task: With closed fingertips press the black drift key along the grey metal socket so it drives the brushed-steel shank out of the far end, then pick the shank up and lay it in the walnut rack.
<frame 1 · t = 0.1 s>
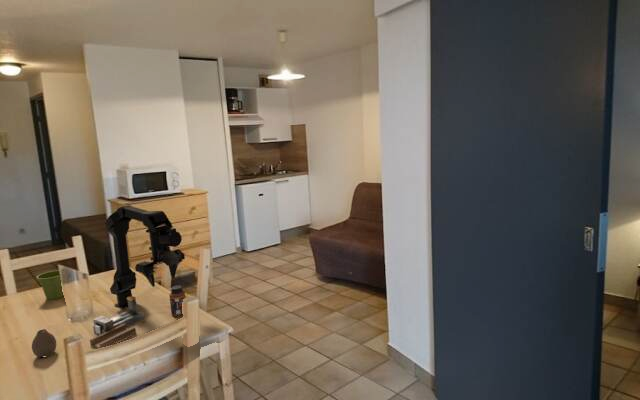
hand: (163, 282, 160), 14 cm above the table, tool pointing down, fingers open, 9 cm apart
shank: (110, 329, 155), on the table
socket: (119, 324, 158), on the table
rack: (113, 339, 147), on the table
vase: (46, 355, 139), on the table
supplement bottle: (179, 314, 165), on the table
plant pot: (56, 297, 191), on the table
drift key: (127, 309, 161), point 4 cm above the table, slide at 0.0 cm
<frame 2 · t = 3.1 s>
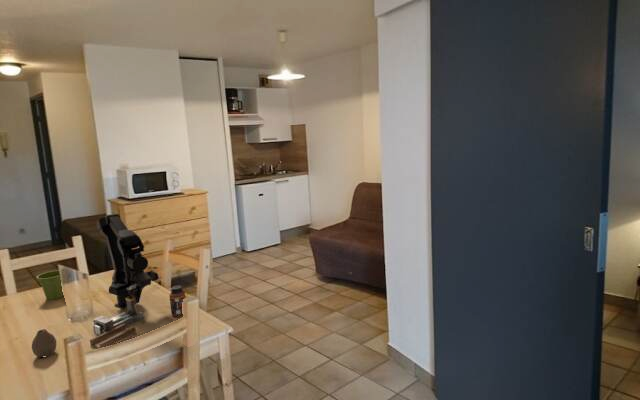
hand: (137, 302, 164), 6 cm above the table, tool pointing down, fingers closed
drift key: (126, 310, 160), point 4 cm above the table, slide at 0.6 cm, touching gripper
everything else where it was.
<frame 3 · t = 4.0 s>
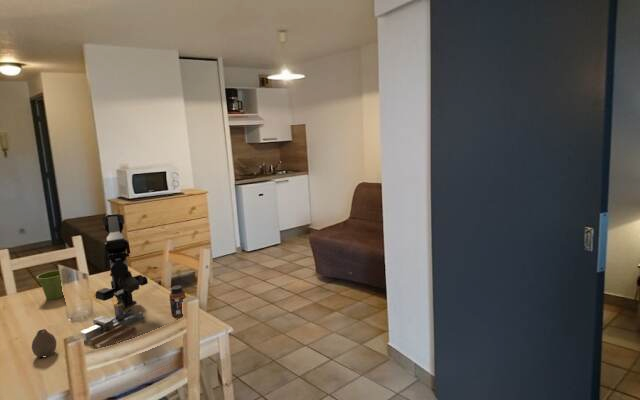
hand: (125, 307, 160), 6 cm above the table, tool pointing down, fingers closed
shank: (96, 335, 150), on the table, touching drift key
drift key: (113, 315, 156), point 4 cm above the table, slide at 5.8 cm, touching gripper, shank
everything else where it was.
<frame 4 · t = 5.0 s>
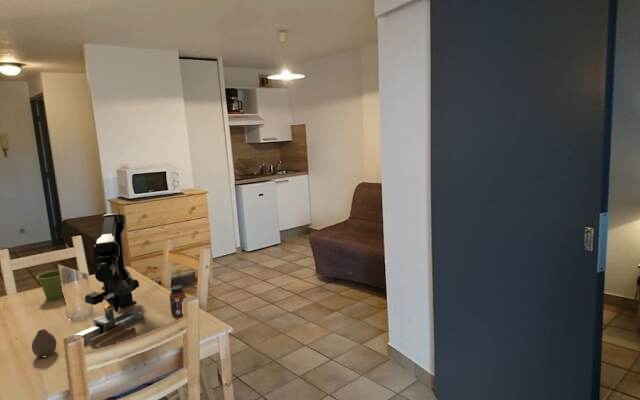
hand: (116, 311, 157), 6 cm above the table, tool pointing down, fingers closed
shank: (86, 341, 147), on the table
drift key: (104, 320, 153), point 4 cm above the table, slide at 9.6 cm, touching gripper
everything else where it was.
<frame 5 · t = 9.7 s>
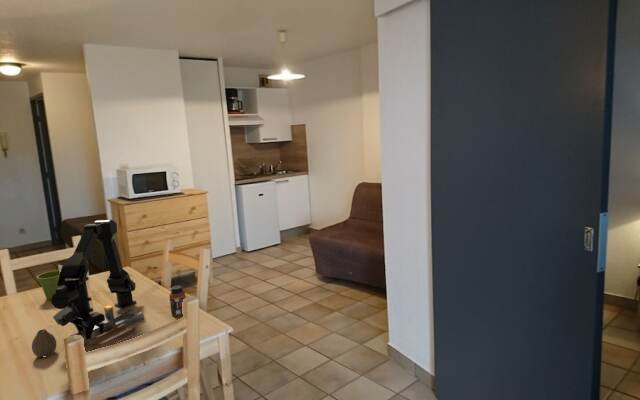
hand: (85, 337, 147), 1 cm above the table, tool pointing down, fingers closed on shank, 3 cm apart
shank: (85, 340, 147), on the table, touching gripper
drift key: (104, 320, 153), point 4 cm above the table, slide at 9.5 cm
everything else where it was.
when the fingers open (3 cm above the table, at t = 13.2 s): shank drops 1 cm, resting on rack.
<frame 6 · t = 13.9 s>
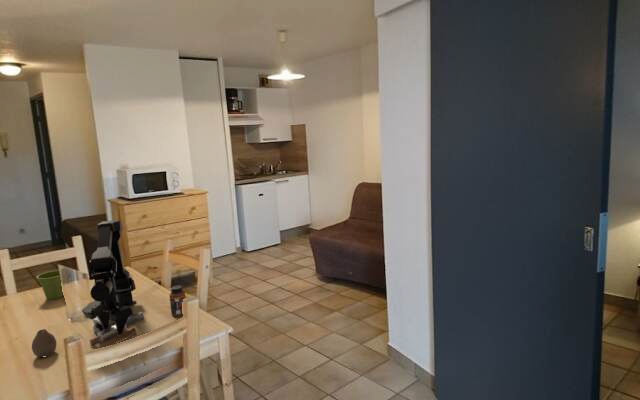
hand: (113, 331, 146), 3 cm above the table, tool pointing down, fingers open, 8 cm apart
shank: (113, 337, 147), point 1 cm above the table, touching rack
everything else where it was.
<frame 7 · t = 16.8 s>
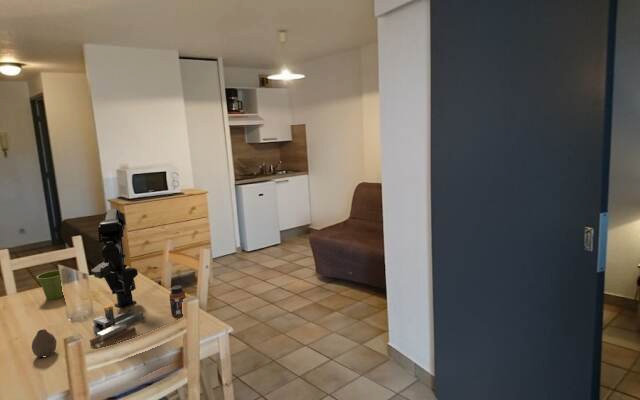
hand: (119, 291, 160), 12 cm above the table, tool pointing down, fingers open, 9 cm apart
nothing on the table moved.
at the end: shank inside the target area on the rack (0.1 cm from its centre), point 0.8 cm above the rack's base; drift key slide at 9.5 cm; the gripper is holding nothing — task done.
